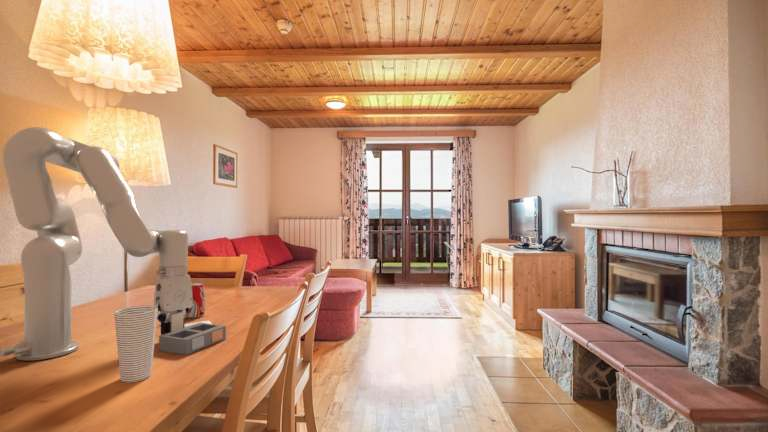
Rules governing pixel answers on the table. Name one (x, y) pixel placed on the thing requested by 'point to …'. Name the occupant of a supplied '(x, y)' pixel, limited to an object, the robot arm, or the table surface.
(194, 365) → the table surface
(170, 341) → the grey compartment tray
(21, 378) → the table surface
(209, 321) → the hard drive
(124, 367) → the cup
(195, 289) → the soda can
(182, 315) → the cream rectangular block
